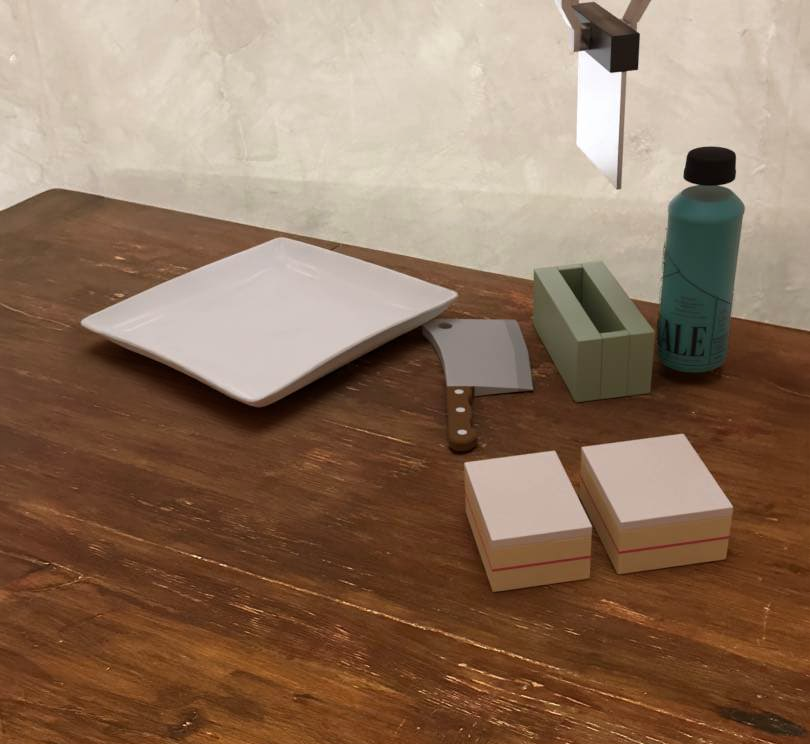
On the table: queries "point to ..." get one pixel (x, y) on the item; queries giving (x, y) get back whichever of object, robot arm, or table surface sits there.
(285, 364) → the square plate
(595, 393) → the cutter stand
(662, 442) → the cake
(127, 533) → the table surface
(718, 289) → the beverage bottle
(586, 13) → the cake cutter
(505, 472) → the cake slice
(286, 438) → the table surface
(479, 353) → the kitchen cleaver
